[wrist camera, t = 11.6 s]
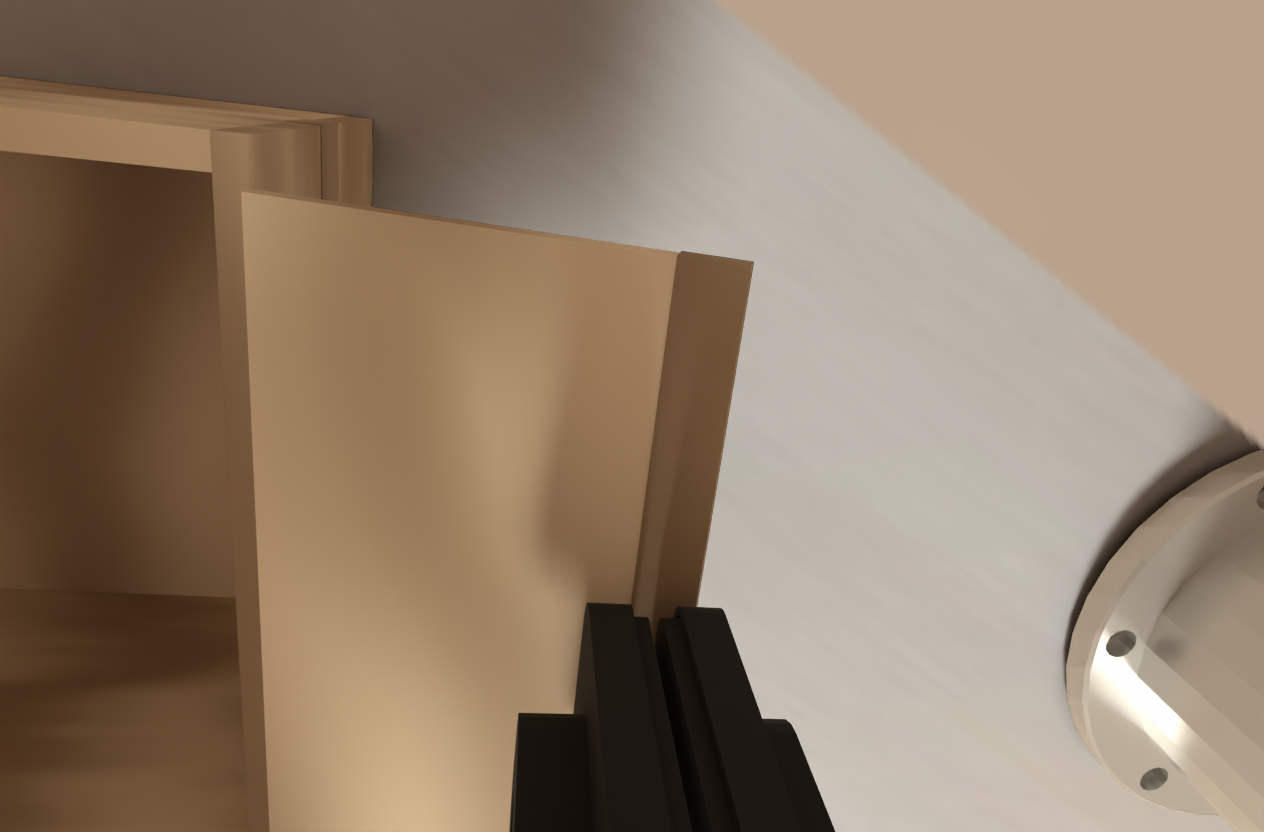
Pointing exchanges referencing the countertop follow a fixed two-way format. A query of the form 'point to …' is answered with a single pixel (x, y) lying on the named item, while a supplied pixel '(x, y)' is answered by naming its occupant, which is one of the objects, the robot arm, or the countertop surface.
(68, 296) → the wooden open box
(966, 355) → the countertop surface
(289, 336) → the flap
